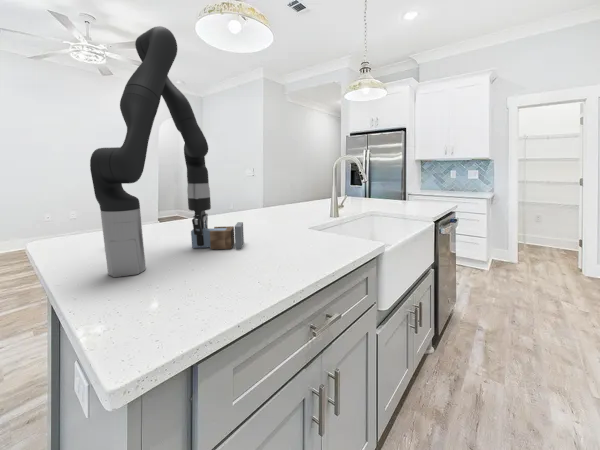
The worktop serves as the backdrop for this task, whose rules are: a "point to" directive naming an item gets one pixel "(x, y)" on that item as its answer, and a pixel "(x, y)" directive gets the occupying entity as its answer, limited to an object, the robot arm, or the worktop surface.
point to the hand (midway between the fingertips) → (201, 243)
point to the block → (222, 238)
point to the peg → (205, 236)
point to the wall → (239, 235)
